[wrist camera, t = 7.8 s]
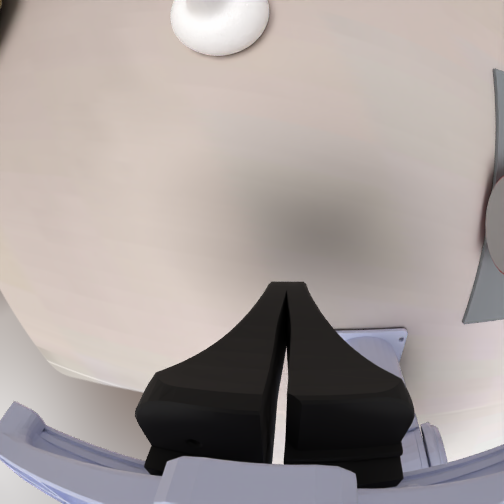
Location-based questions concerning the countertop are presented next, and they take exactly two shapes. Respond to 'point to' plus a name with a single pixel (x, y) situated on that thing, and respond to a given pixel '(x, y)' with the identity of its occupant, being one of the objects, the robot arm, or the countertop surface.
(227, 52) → the garlic bulb
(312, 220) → the countertop surface
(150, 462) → the robot arm
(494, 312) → the slate mat
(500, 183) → the canned food
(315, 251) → the countertop surface
